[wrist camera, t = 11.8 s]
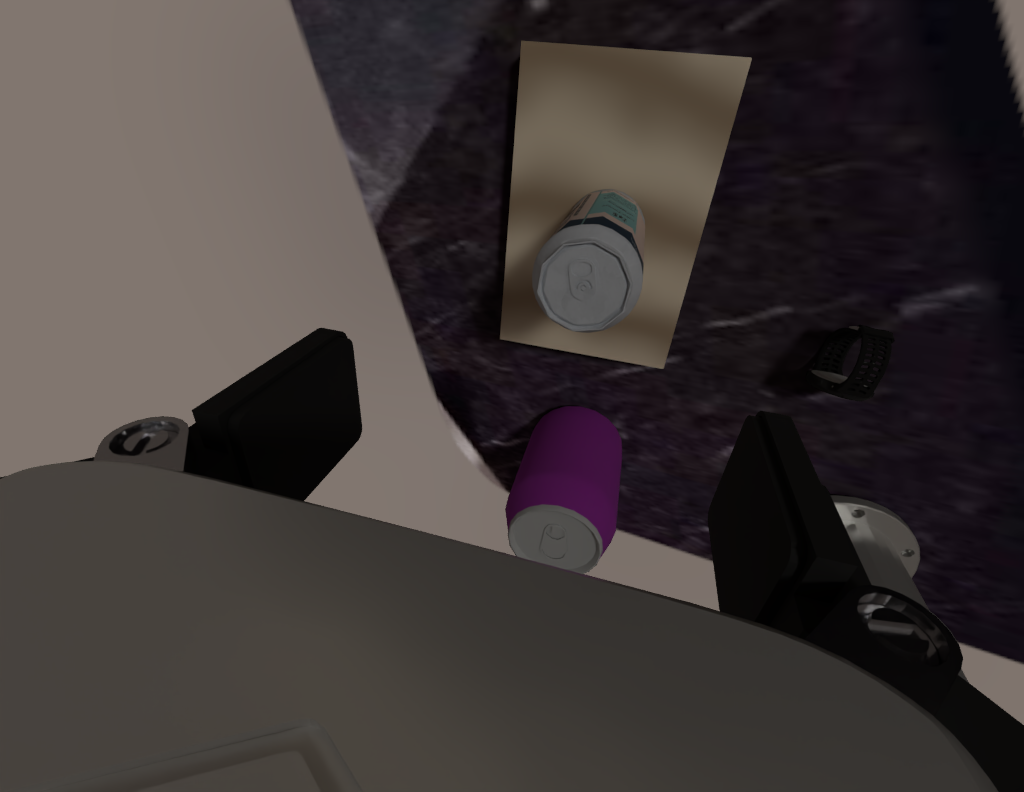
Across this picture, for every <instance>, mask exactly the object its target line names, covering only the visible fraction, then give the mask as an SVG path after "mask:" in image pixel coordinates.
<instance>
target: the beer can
mask: <svg viewBox="0 0 1024 792" xmlns="http://www.w3.org/2000/svg"><path fill="white" fill-rule="evenodd" d="M644 243H645V220H644V217H643V213H642V210H641V209H640V207H639V205H638V204H637V202H636V201H635V200H634V199H633V198H631V197H630V196H628V195H627V194H625V193H624V192H621V191H618V190H615V189H602V190H598V191H594V192H591V193H589V194H587V195H586V196H584V197H583V198H582V199H581V200H580V201H579V202H578V203H577V204H576V205H575V206H574V208H573V209H572V211H571V212H570V213H569V215H568V216H567V217H566V218H565V220H564V221H563V222H562V224H561V225H560V226H559V227H558V229H557V230H556V231H555V232H554V234H553V235H552V236H551V238H550V239H549V240H548V241H547V242H546V243H545V244H544V245H543V247H542V248H541V250H540V251H539V253H538V255H537V257H536V260H535V262H534V267H533V272H532V286H533V290H534V294H535V298H536V300H537V302H538V304H539V306H540V307H541V309H542V310H543V312H544V313H545V314H546V315H547V316H548V317H549V318H550V319H551V320H552V321H553V322H555V323H557V324H559V325H560V326H562V327H564V328H566V329H568V330H571V331H575V332H581V333H591V332H598V331H603V330H606V329H608V328H610V327H613V326H615V325H616V324H618V323H619V322H620V321H622V320H623V319H624V318H625V317H627V316H628V315H629V313H630V312H631V311H632V309H633V308H634V307H635V305H636V303H637V301H638V299H639V296H640V293H641V290H642V282H643V267H644Z"/></svg>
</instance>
